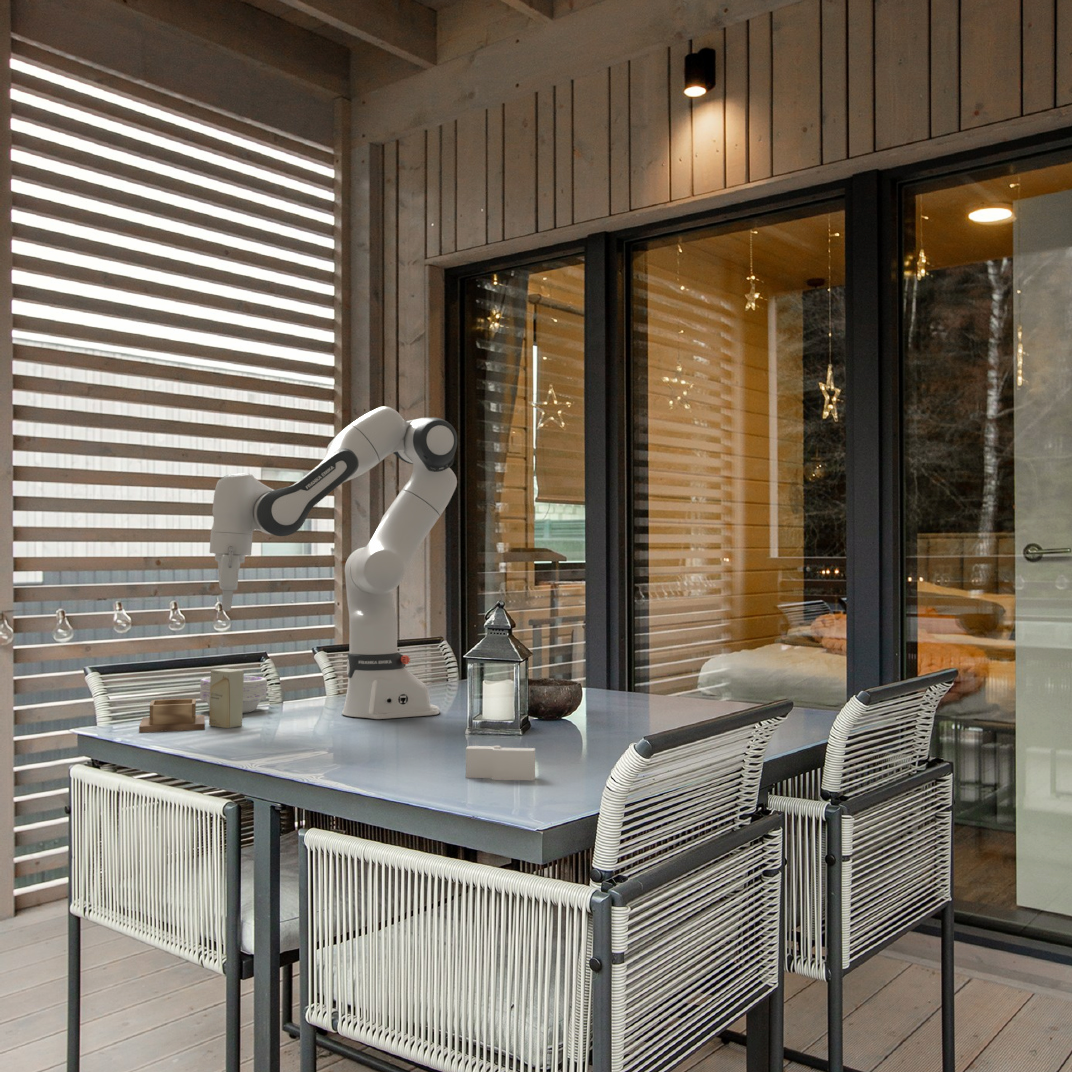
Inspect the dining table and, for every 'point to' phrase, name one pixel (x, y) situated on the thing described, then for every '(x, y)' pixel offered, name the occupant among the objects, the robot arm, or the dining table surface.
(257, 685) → the paper bowls
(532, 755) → the napkin holder
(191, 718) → the box
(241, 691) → the skincare box
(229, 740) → the dining table surface
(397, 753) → the dining table surface
